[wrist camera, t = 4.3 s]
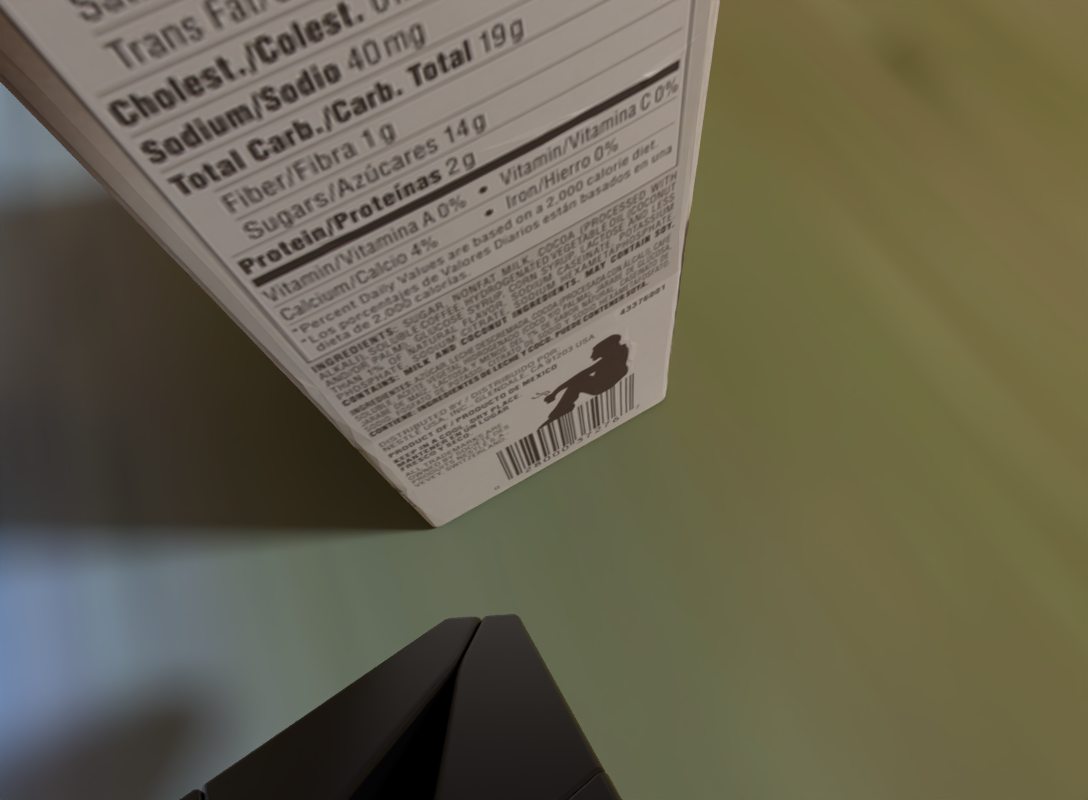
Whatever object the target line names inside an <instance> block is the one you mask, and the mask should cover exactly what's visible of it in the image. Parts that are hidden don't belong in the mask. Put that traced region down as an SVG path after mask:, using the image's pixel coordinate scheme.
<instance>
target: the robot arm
mask: <svg viewBox="0 0 1088 800" xmlns="http://www.w3.org/2000/svg"><path fill="white" fill-rule="evenodd" d="M180 800H622V799H621V797H620V795H619V793H618V792H617V790H616V788H615V786H614V785H613V783H612V781H611V779H610V777H609V776H608V775H607V774H606V773H605V770H604V768H603V767H602V765H601V763H600V761H599V759H598V758H597V756H596V754H595V752H594V750H593V749H592V747H591V745H590V743H589V741H588V740H587V738H586V736H585V734H584V732H583V731H582V729H581V727H580V725H579V723H578V722H577V720H576V718H575V716H574V714H573V713H572V711H571V709H570V707H569V705H568V704H567V702H566V700H565V698H564V696H563V695H562V693H561V691H560V689H559V687H558V686H557V684H556V682H555V680H554V678H553V677H552V675H551V673H550V671H549V669H548V668H547V666H546V664H545V662H544V660H543V659H542V657H541V655H540V653H539V651H538V650H537V648H536V646H535V644H534V642H533V641H532V639H531V637H530V635H529V633H528V632H527V630H526V628H525V626H524V624H523V623H522V621H521V619H520V618H519V617H518V616H517V615H515V614H509V615H493V616H486V617H484V618H483V620H481V619H480V618H478V617H459V618H448V619H446V620H444V621H442V622H441V623H440V624H438V625H437V626H435V627H434V628H432V629H431V630H429V631H428V632H426V633H425V634H423V635H422V636H421V637H419V638H418V639H416V640H415V641H413V642H412V643H410V644H409V645H407V646H406V647H404V648H403V649H402V650H400V651H399V652H397V653H396V654H394V655H393V656H391V657H390V658H388V659H387V660H385V661H384V662H383V663H381V664H380V665H378V666H377V667H375V668H374V669H372V670H371V671H369V672H368V673H366V674H365V675H364V676H362V677H361V678H359V679H358V680H356V681H355V682H353V683H352V684H350V685H349V686H347V687H346V688H345V689H343V690H342V691H340V692H339V693H337V694H336V695H334V696H333V697H331V698H330V699H328V700H327V701H326V702H324V703H323V704H321V705H320V706H318V707H317V708H315V709H314V710H312V711H311V712H309V713H308V714H307V715H305V716H304V717H302V718H301V719H299V720H298V721H296V722H295V723H293V724H292V725H290V726H289V727H288V728H286V729H285V730H283V731H282V732H280V733H279V734H277V735H276V736H274V737H273V738H271V739H270V740H269V741H267V742H266V743H264V744H263V745H261V746H260V747H258V748H257V749H255V750H254V751H252V752H251V753H250V754H248V755H247V756H245V757H244V758H242V759H241V760H239V761H238V762H236V763H235V764H233V765H232V766H231V767H229V768H228V769H226V770H225V771H223V772H222V773H220V774H219V775H217V776H216V777H214V778H213V779H212V780H210V781H209V782H207V783H206V784H205V785H204V786H203V788H202V792H201V791H200V790H198V789H196V790H193V791H191V792H190V793H189V794H187V795H186V796H184V797H183V798H181V799H180Z"/></svg>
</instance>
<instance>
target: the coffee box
mask: <svg viewBox="0 0 1088 800" xmlns="http://www.w3.org/2000/svg"><path fill="white" fill-rule="evenodd" d="M719 3H720V0H0V82H1V83H2V84H3V85H4V86H5V87H6V88H7V89H8V90H9V91H10V92H11V93H12V94H13V95H14V96H15V97H16V98H17V99H18V100H19V101H20V102H21V103H22V104H23V105H24V106H25V107H26V108H27V109H28V110H29V111H30V112H31V113H32V115H33V116H34V117H35V118H36V119H37V120H38V121H39V122H40V123H41V124H42V125H43V126H44V127H45V128H46V129H47V130H48V131H49V132H50V133H51V134H52V135H53V136H54V137H55V138H56V139H57V140H58V141H59V142H60V143H61V144H62V145H63V146H64V147H65V148H66V149H67V150H68V151H69V152H70V153H71V154H72V156H73V157H74V158H75V159H76V160H77V161H78V162H79V163H80V164H81V165H82V166H83V167H84V168H85V169H86V170H87V171H88V172H89V173H90V174H91V175H92V176H93V177H94V178H95V179H96V180H97V181H98V182H99V183H100V184H101V185H102V186H103V187H104V188H105V189H106V190H107V191H108V192H109V193H110V194H111V196H112V197H113V198H114V199H115V200H116V201H117V202H118V203H119V204H120V205H121V206H122V207H123V208H124V209H125V210H126V211H127V212H128V213H129V214H130V215H131V216H132V217H133V218H134V219H135V220H136V221H137V222H138V223H139V224H140V225H141V226H142V227H143V228H144V229H145V230H146V231H147V232H148V233H149V234H150V236H151V237H152V238H153V239H154V240H155V241H156V242H157V243H158V244H159V245H160V246H161V247H162V248H163V249H164V250H165V251H166V252H167V253H168V254H169V255H170V256H171V257H172V258H173V259H174V260H175V261H176V262H177V263H178V264H179V265H180V266H181V267H182V268H183V269H184V270H185V271H186V272H187V273H188V274H189V276H190V277H191V278H192V279H193V280H194V281H195V282H196V283H197V284H198V285H199V286H200V287H201V288H202V289H203V290H204V291H205V292H206V293H207V294H208V295H209V296H210V297H211V298H212V299H213V300H214V301H215V302H216V303H217V304H218V305H219V306H220V307H221V309H222V310H223V311H224V312H225V313H226V314H227V315H228V316H229V317H230V318H231V319H232V320H233V321H234V322H235V323H236V324H237V325H238V326H239V327H240V328H241V329H242V330H243V331H244V332H245V333H246V334H247V335H248V337H249V338H250V339H251V340H252V341H253V342H254V343H255V344H256V345H257V346H258V347H259V348H260V349H261V350H262V351H263V352H264V353H265V354H266V355H267V356H268V357H269V358H270V359H271V360H272V362H273V363H274V364H275V365H276V366H277V367H278V368H279V369H280V370H281V371H282V372H283V373H284V374H285V375H286V376H287V377H288V378H289V379H290V380H291V381H292V382H293V383H294V384H295V385H296V386H297V387H298V388H299V389H300V391H301V392H302V393H303V394H304V395H305V396H306V397H307V398H308V399H309V400H310V401H311V402H312V403H313V404H314V405H315V406H316V407H317V408H318V409H319V410H320V411H321V412H322V413H323V414H324V415H325V416H326V417H327V418H328V419H329V421H330V422H331V423H332V424H333V425H334V426H335V427H336V428H337V429H338V430H339V431H340V432H341V433H342V434H343V435H344V436H345V437H346V438H347V439H348V440H349V442H350V443H351V444H352V445H353V446H354V447H355V448H357V449H358V451H359V452H360V453H361V454H362V455H363V456H364V458H365V459H366V460H367V461H368V462H369V463H370V464H371V465H372V466H373V467H374V468H375V469H376V470H377V471H378V472H379V473H380V474H381V475H382V476H383V477H384V478H385V479H386V480H387V481H388V482H389V483H390V484H391V485H392V487H393V488H394V489H396V490H397V491H398V492H399V493H400V495H401V496H402V497H403V498H404V499H405V500H406V501H407V502H408V503H409V504H410V505H411V506H412V507H414V508H415V509H416V510H417V511H418V512H419V513H420V515H421V516H422V517H423V518H424V519H425V520H426V521H427V522H428V523H429V524H430V525H432V526H433V527H440V526H442V525H444V524H446V523H448V522H450V521H451V520H453V519H455V518H457V517H458V516H460V515H462V514H464V513H466V512H467V511H469V510H471V509H473V508H474V507H476V506H478V505H480V504H482V503H483V502H485V501H487V500H489V499H490V498H492V497H494V496H496V495H497V494H499V493H501V492H503V491H505V490H506V489H508V488H510V487H512V486H513V485H515V484H517V483H519V482H520V481H522V480H524V479H526V478H527V477H529V476H531V475H533V474H534V473H536V472H538V471H540V470H541V469H543V468H545V467H547V466H549V465H550V464H552V463H554V462H556V461H557V460H559V459H561V458H563V457H564V456H566V455H568V454H570V453H571V452H573V451H575V450H577V449H579V448H580V447H582V446H584V445H586V444H587V443H589V442H591V441H593V440H594V439H596V438H598V437H600V436H601V435H603V434H605V433H607V432H608V431H610V430H612V429H614V428H615V427H617V426H619V425H621V424H622V423H624V422H626V421H628V420H629V419H631V418H633V417H635V416H636V415H638V414H640V413H642V412H643V411H645V410H647V409H649V408H651V407H652V406H654V405H656V404H658V403H659V402H661V401H662V400H663V399H664V398H665V395H666V391H667V382H668V373H669V365H670V357H671V350H672V341H673V333H674V326H675V318H676V310H677V304H678V299H679V292H680V281H681V272H682V267H683V262H684V251H685V243H686V236H687V231H688V226H689V215H690V209H691V204H692V196H693V188H694V181H695V174H696V167H697V161H698V154H699V147H700V139H701V132H702V125H703V118H704V110H705V103H706V96H707V88H708V81H709V74H710V67H711V60H712V52H713V45H714V38H715V31H716V24H717V17H718V10H719Z"/></svg>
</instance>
